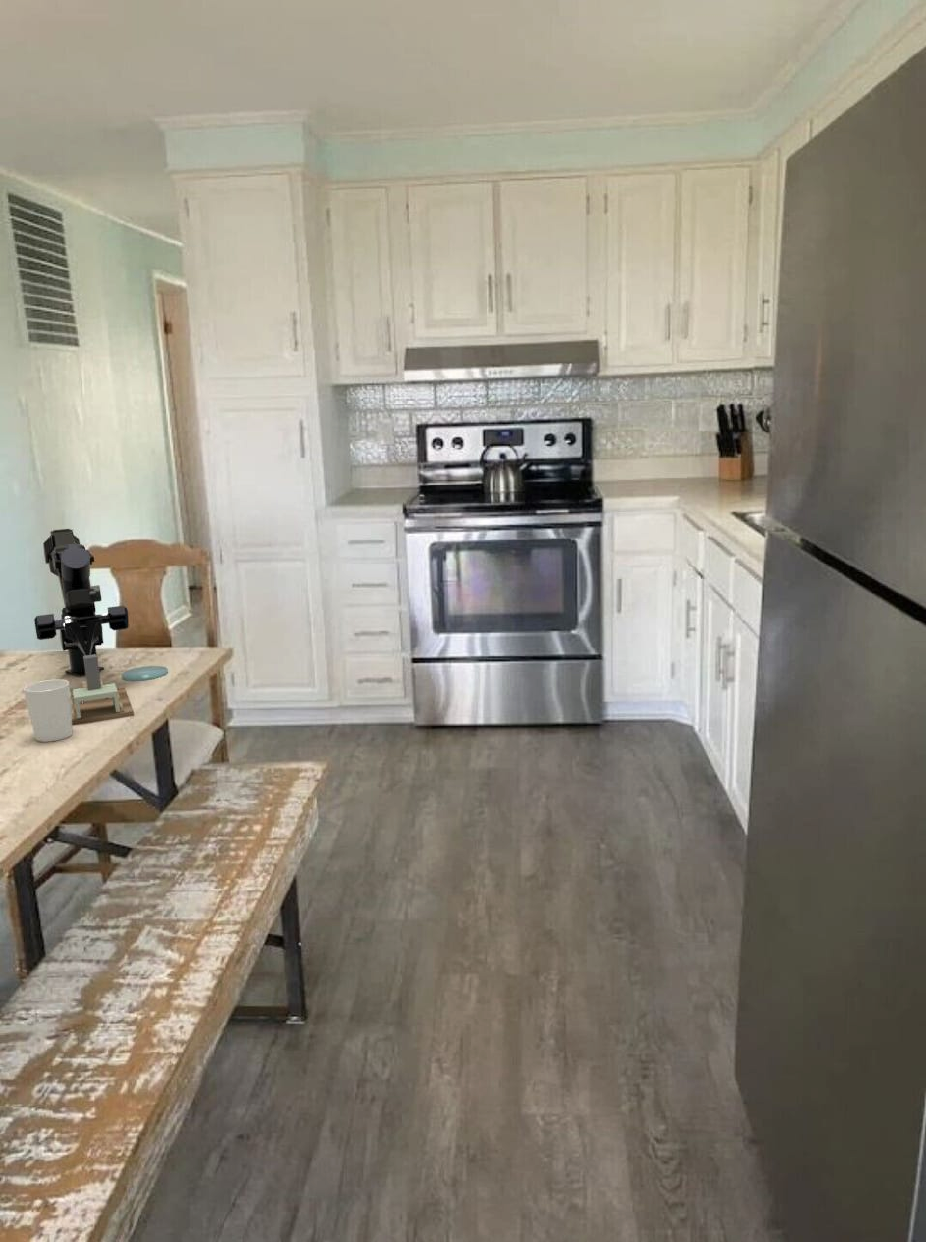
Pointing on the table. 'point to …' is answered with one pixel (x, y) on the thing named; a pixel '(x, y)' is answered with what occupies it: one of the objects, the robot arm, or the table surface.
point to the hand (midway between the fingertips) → (87, 655)
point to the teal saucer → (144, 673)
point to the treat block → (84, 684)
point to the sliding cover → (94, 686)
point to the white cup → (50, 709)
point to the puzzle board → (102, 709)
